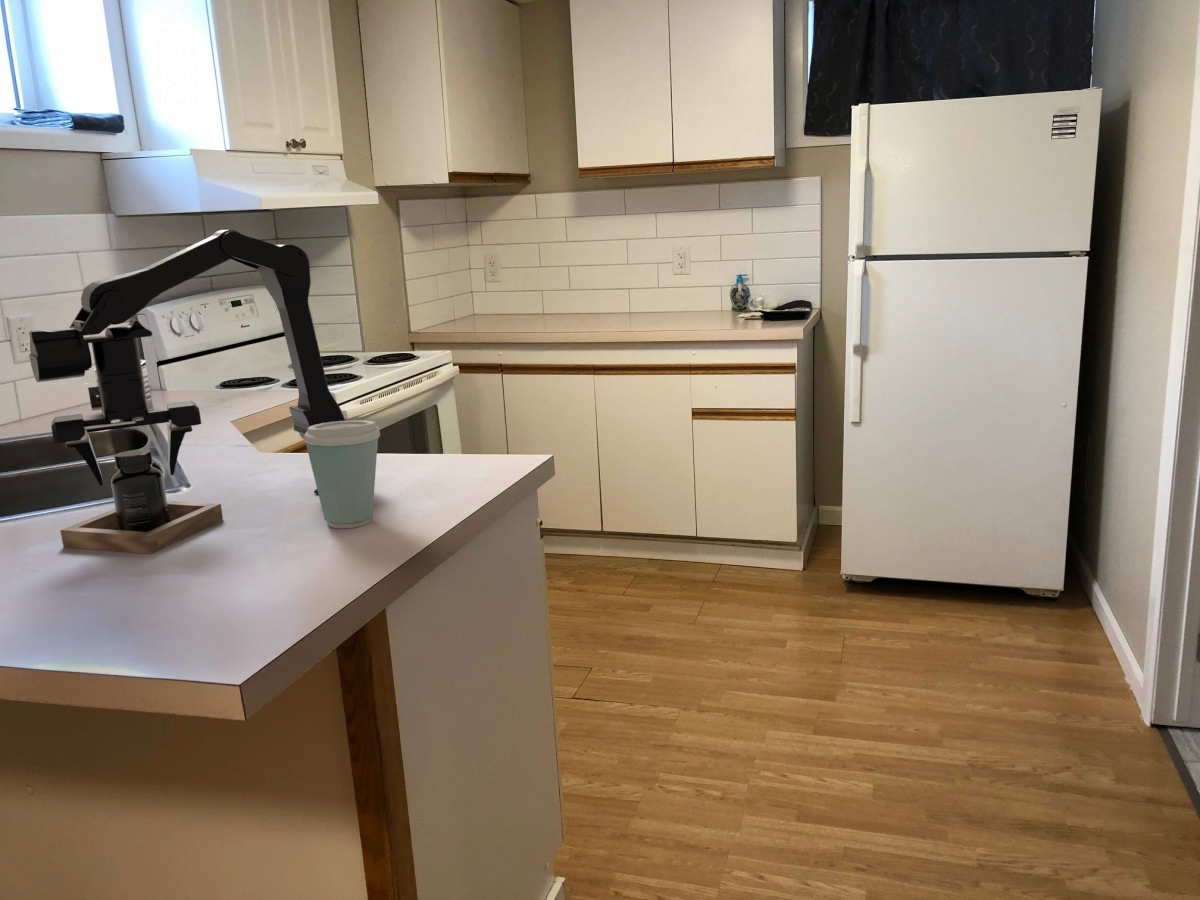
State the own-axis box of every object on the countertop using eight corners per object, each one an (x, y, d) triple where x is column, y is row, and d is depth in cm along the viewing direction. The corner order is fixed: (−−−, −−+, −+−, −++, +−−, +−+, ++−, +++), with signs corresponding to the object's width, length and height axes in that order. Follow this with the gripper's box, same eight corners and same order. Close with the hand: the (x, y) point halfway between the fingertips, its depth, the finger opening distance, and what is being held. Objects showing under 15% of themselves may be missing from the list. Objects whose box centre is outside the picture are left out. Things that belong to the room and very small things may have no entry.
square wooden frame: (223, 519, 146) (220, 503, 146) (150, 553, 133) (147, 536, 132) (141, 514, 151) (139, 499, 150) (63, 547, 137) (60, 530, 136)
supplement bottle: (181, 527, 144) (169, 448, 141) (146, 542, 138) (133, 460, 135) (145, 524, 146) (132, 446, 143) (109, 538, 140) (95, 457, 137)
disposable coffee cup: (309, 518, 145) (297, 419, 142) (381, 506, 149) (371, 410, 146) (319, 538, 136) (306, 433, 132) (396, 525, 140) (385, 423, 136)
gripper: (185, 358, 147) (200, 458, 151) (45, 372, 139) (64, 478, 143) (193, 367, 138) (209, 474, 141) (42, 383, 129) (63, 496, 133)
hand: (137, 479), depth 140 cm, fingers open, 9 cm apart
